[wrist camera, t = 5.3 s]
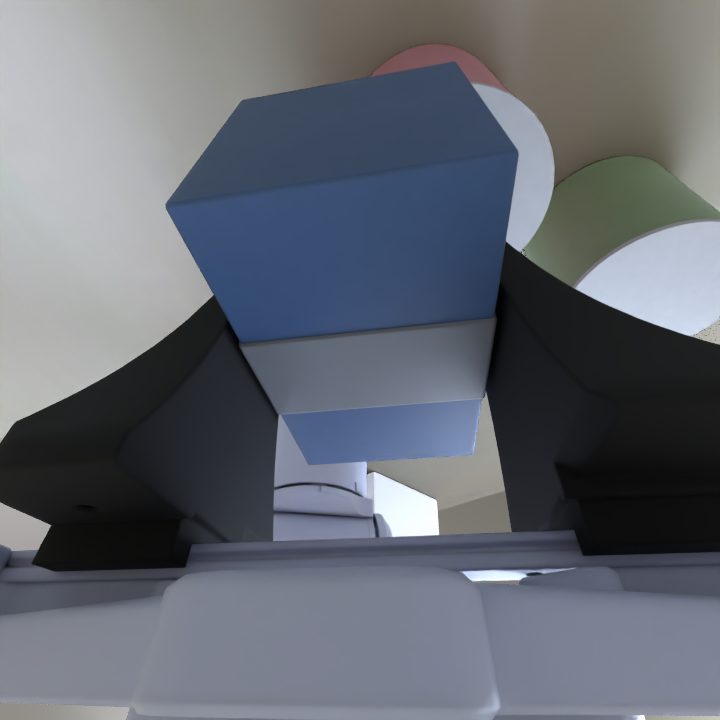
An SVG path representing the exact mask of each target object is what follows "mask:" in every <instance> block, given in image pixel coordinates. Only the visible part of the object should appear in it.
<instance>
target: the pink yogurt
mask: <svg viewBox="0 0 720 720" xmlns="http://www.w3.org/2000/svg"><path fill="white" fill-rule="evenodd" d="M448 62H456V63H457V64H458V66H459V67H460V68H461V70H462V71H463V73H464V74H465V75H466V77H467V78H468V80H469V81H470V83H471V84H472V85H473V87H474V88H475V90H476V91H477V93H478V94H479V95H480V97H481V98H482V100H483V101H484V103H485V104H486V105H487V107H488V108H489V110H490V111H491V113H492V114H493V115H494V117H495V118H496V120H497V121H498V123H499V124H500V125H501V127H502V128H503V130H504V131H505V132H506V134H507V135H508V137H509V138H510V140H511V141H512V142H513V144H514V145H515V147H516V148H517V150H518V152H519V157H518V164H517V171H516V177H515V184H514V190H513V197H512V204H511V210H510V217H509V223H508V230H507V237H506V242H507V243H509V244H510V245H511V246H512V247H514V248H515V249H516V250H517V251H519V252H521V250H522V249H523V248H524V247H525V246H526V245H527V244H528V242H529V241H530V240H531V238H532V237H533V236H534V234H535V233H536V231H537V229H538V228H539V226H540V224H541V222H542V220H543V218H544V216H545V214H546V211H547V209H548V206H549V203H550V199H551V196H552V191H553V185H554V172H555V165H554V157H553V151H552V147H551V144H550V140H549V137H548V135H547V133H546V131H545V129H544V127H543V125H542V123H541V122H540V121H539V119H538V118H537V116H536V115H535V114H534V112H533V111H532V110H531V109H530V108H528V107H527V106H526V105H525V104H524V103H523V102H522V101H521V100H520V99H518V98H517V97H515V96H514V95H512V94H511V93H510V92H509V91H508V90H507V89H506V88H505V87H504V86H503V85H502V84H501V83H500V81H499V80H498V79H497V78H496V77H495V76H494V75H493V74H492V73H491V72H490V70H489V69H488V68H487V67H486V66H485V65H484V64H483V63H482V62H481V61H480V60H479V59H478V58H476V57H475V56H473V55H472V54H470V53H469V52H467V51H464V50H462V49H460V48H458V47H454V46H450V45H443V44H428V45H421V46H417V47H413V48H410V49H408V50H405V51H403V52H401V53H399V54H397V55H395V56H394V57H392V58H391V59H389V60H388V61H386V62H385V63H384V64H383V65H382V66H380V67H379V68H378V69H377V70H376V71H375V72H374V73H373V74H372V75H371V77H372V76H377V75H383V74H388V73H393V72H399V71H404V70H410V69H415V68H421V67H426V66H432V65H437V64H443V63H448Z"/></svg>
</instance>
